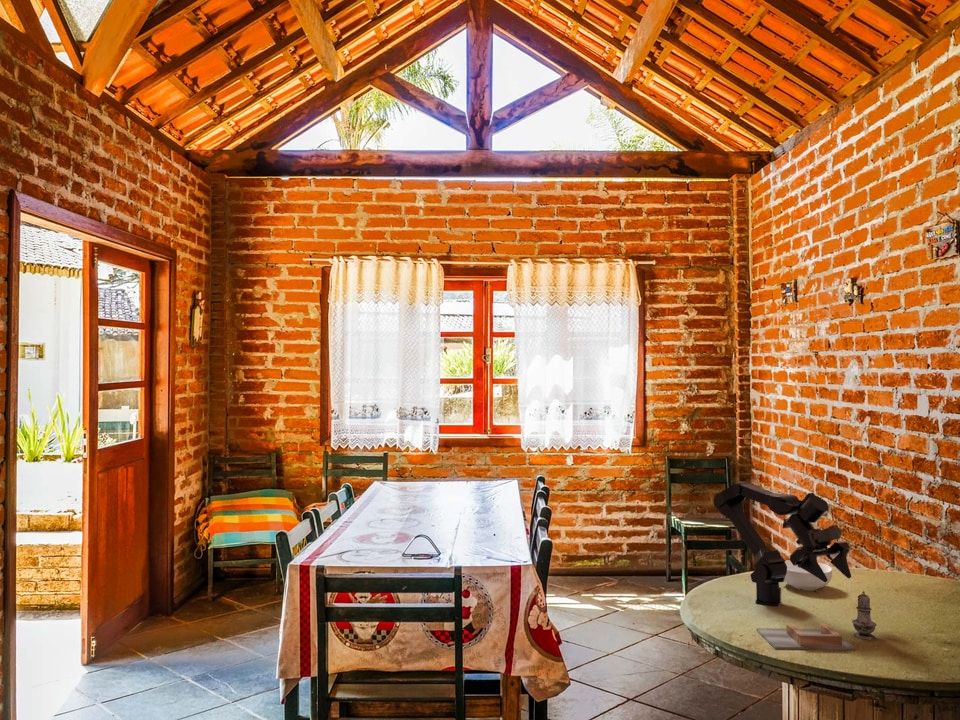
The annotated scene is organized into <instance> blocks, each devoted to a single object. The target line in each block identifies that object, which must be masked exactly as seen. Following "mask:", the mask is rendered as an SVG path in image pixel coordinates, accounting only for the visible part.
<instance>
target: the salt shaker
mask: <svg viewBox="0 0 960 720" xmlns="http://www.w3.org/2000/svg"><path fill="white" fill-rule="evenodd" d="M855 608H856V609H857V616H856V619H853V620H852V621H851V622H852V625H853V627H854V630H855V631H856V632H854V633H853V636H854V637H855V638H857V637H858V638H857V639H860V638H861V640H865V639H869V640H868V641H872V640H871V639H873V640H876V639H877V638H876V636H875V635H874V634H873V633H874V632H875V630H876V627H877V626H878V625H877V623H876V622H874V621H873V620H872V618H871V611H872V608H871V598H870V597H869V595H867V594H866V592H865V590H863V591H862V593H861V594H859V595H858V596H857V606H856V607H855Z"/></svg>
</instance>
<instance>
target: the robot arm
mask: <svg viewBox="0 0 960 720" xmlns="http://www.w3.org/2000/svg"><path fill="white" fill-rule="evenodd" d="M746 499H748V500H751V501H754V502H757V503H759V504H762V505H764V506H767V507H768V509H769V510H770V511H771V512H772V513H774V514H775V515H778V516H789V517H788V518H784V519H783V523H782V528H783V529H790V530H791V531H792V533H793V534H794V535H795V537H796V539H797V540H796V541H795V543H796V544H797V545H802V546H798V547H797V548H796V549H795V550H794V551H793V552H792V553H790V555H789V560H790V561H791V563H792V564H793V566H796V565H798V567H799V568H802V569H804V570H806V571H807V572H809V573H811V574H813V575H814V576H816V577H817V578H819V579H820V580H822V581H824V582H827V581H828V579H827V577H826V575H825V574H824V572H823V570H822V569H821V567H820V566H819V564H818V563H819V562H818V559H817V558H818V557H823V556H826V558H827V559H828V560H830V563H831V564H832V565H833V567H835V568H836V569H837V571H839V572H841V574H842V575H843V576H845V577H846V578H847V579H851V578H852V574H851V570H850V567H849V566H850V565H849V564H848V559H847V556H848V554H849V553H850V550H851V549H852V548H851V546H850V544H849V543H848V542H847V541H844V540H843V541H836V542H833V543H832V541H835V540H840V539H841V536H842V535H843V533H842V532H843V531H842V530H841V528H840V527H839V525H837V524H832V525H829V526H828V527H827V528H823V529H821V528H815V527H814V525H813V524H812V523H814V524H815V523H817V522H818V521H819V520H820V519H821V518H822V517H823V516H824V515H825V514H826V513H827V512H828V511H829V509H830V507H829V504H828V503H827V501H826V500H824V499H823V498H822V497H821V496H818V495H816V494H815V493H814V492H808V493H807V494H806V495H805V497H804V498H803V499H802V500H801V499H799V497H798V496H797V495H795V494H788V493H775V492H773V491H770V490H766V489H765V488H761V487H759V486H757V485H755V484H754V485H753V484H750V483H749V482H747V481H739V482H738V481H737V482H735V483H733V484H732V485H731V486H729V487H727V488H725V489H723V490H721V491H720V492H717V493H716V494H715V495H714V498H713V501H712V503H713V505H714V508H715V510H717V511H718V513H720V515H722V516H723V517H725V518H726V519H728V520H729V521H731V524H732V525H733V527H734V528H735V529H736V531H737V532H738V534H739V535H740V537H741V538H742V540H743V542H744V543H745V545H746V546H747V548H748V549H749V551H750V552H751V554H752V555H753V557H754V559H753V560H754V562H753V563H754V567H755V569H754V571H752V573H750V580H751V582H752V583H755V584H756V589H755V590H756V591H755V592H756V593H755V595H756V596H755V597H756V600H755V604H760V605H761V604H762V605H768V606H776V607H777V606H779V604H780V603H782V602H781V601H782V587H780V583H785V582H784V579H785V576H786V573H787V565H786V563H785V561H787V560H786V559H784V558H783V556H782V554H781V552H780V551H779V550H778V549H777V550H772V549H769V547H768V546H767V545H766V543H765V542H764V540H763V538H762V536H760V534H759V533H758V531H757V530H756V529H755V527H754V525H753V524H752V523H751V521H750V520H749V518H748V517H747V516H746V514H745V512H744V503H743V502H745V500H746ZM831 544H832V545H831ZM830 545H831V546H830ZM829 546H830V547H829Z"/></svg>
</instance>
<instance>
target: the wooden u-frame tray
mask: <svg viewBox="0 0 960 720" xmlns="http://www.w3.org/2000/svg"><path fill="white" fill-rule="evenodd" d="M785 624H786V626H785V628H766V627H765V628H762V627H761V628H757V627H756V631H757V633H758V634H759V633H760V636H761V637H762V638H763V639H764V640H765V641H766V642H767V643H768V644H769V645H770V646H771V647H772V648H773V650H774V649H775V650H811V649H814V650H818V649H821V650H822V651H824V650H826V651H827V650H829V651H856V648H855V646H854V645H852V644H851V643H850V642H848V641H847V640H845V639H844V638H843V636H842V635H841V634H839V632H837V631H836V630H835V629H833V628H832V627H831V626H829V625H828V624H827V623H820V628H797V626H796V625H794V624H793V623H785ZM821 650H820V651H821Z"/></svg>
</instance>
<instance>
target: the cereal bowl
mask: <svg viewBox="0 0 960 720" xmlns="http://www.w3.org/2000/svg"><path fill="white" fill-rule="evenodd" d="M785 563H786V565H787V573H786V576H785V579H784V582H783V583H786V584H787V585H790V586H791V587H792V588H793V587H794V588H793V589H796V588H797V590H800V589H803V590H802V591H816V590H818V589H819V588H824V587H825V586H827V585H828V584H829V583H830V582H831V581H832V579H833V578H832V577H833V568H832V567H831V566H829V565H827V564H825V563H822V562H818V564H819V566H820V567H821V569H822V570H823V572H824V574H825V575H826V577H827V579H828V581H827V582H824V581H822V580H820V579H819V578H817V577H816V576H814V575H813V574H811V573H809V572H807V571H806V570H804V569H802V568H799V567H798V565H796V566H793V564H792V563H791V561H790V559H789V560H786V561H785ZM815 589H816V590H815Z"/></svg>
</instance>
